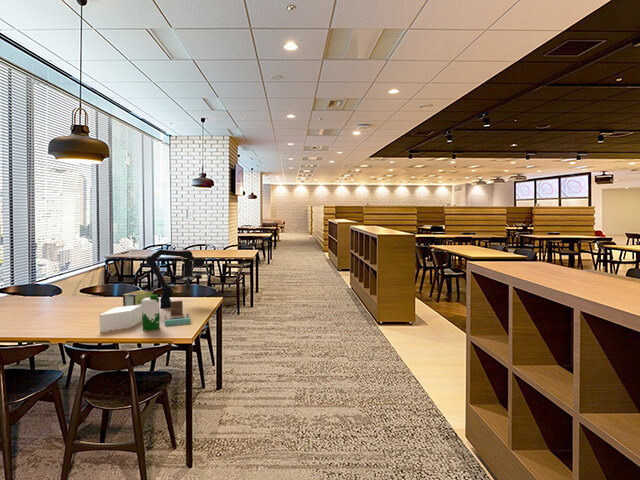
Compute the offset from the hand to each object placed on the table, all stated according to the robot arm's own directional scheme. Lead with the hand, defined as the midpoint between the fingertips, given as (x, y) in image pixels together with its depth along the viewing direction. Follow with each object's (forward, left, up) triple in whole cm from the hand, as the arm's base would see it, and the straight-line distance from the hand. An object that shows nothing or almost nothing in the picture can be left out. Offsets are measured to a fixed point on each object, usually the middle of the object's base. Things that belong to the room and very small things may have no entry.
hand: (188, 288), depth 288 cm
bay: (-6, -43, -12) cm, 45 cm away
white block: (-37, -43, -12) cm, 58 cm away
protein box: (-31, -22, -12) cm, 40 cm away
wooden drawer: (-7, -40, -12) cm, 42 cm away
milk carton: (-20, -55, -12) cm, 60 cm away
